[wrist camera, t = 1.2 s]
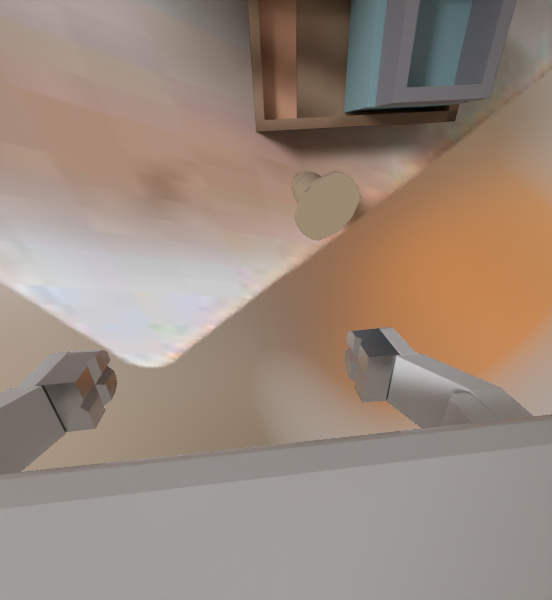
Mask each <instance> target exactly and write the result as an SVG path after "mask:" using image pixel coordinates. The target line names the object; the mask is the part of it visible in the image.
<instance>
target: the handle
mask: <svg viewBox="0 0 552 600" xmlns="http://www.w3.org/2000/svg"><path fill="white" fill-rule="evenodd" d="M292 190H293V194H294V197H295V199H296V201H297V202H298V205H297V208H296V212H295V215H294V217H295V221H296V224H297V226H298V228H299V229H300V231H301V232H302V233H303V234H304V235H306V236H307V237H308V238H310V239H313V240H322V239H324V238H327V237H329V236H331V235H333V234H335V233H337V232H338V231H339V230H340V229H341V228H342V227H343V226H344V225H345V224H346V223H347V222H348V221H349V220H350V219H351V218H352V216H353V214H354V212H355V210H356V208H357V206H358V203H359V201H360V198H361V196H360V190H359V188H358V186H357V184H356V183H355V181H354V180H353V179H352V178H351V177H349V176H348V175H346V174H344V173H341V172H337V171H333V172H331V173H329V174H326V175H324V176H322V177H321V176H319V175H318V174H316V173H313V172H303V173H301V174H299V175H298V174H297V175H296V176H295V177H294V182H293V187H292Z"/></svg>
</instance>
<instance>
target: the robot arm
mask: <svg viewBox="0 0 552 600" xmlns="http://www.w3.org/2000/svg"><path fill="white" fill-rule="evenodd" d="M347 343H348V345H349V348H348V350H347V351H346V352H345V365H346V370H347V373H348V375H349V377H350V379H352V380H354V381H355V390H356V392H357V394H358V396H359V397H360V400H361V401H362V402H371V401H385V400H386V401H387V402H388V403H389V404H391V405H392V406H393V407H395V408H396V409H397V410H399V411H400V412H401V413H403V414H404V415H405V416H406V417H408V418H409V419H410V420H412V421H413V422H414V423H415V424H417V425H418V426H419V427H421V428H422V429H414V430H405V431H396V432H387V433H378V434H370V435H360V436H351V437H341V438H332V439H323V440H314V441H304V442H294V443H285V444H275V445H267V446H257V447H248V448H238V449H230V450H221V451H211V452H203V453H193V454H184V455H174V456H166V457H156V458H147V459H138V460H129V461H119V462H111V463H101V464H92V465H82V466H73V467H64V468H56V469H45V470H36V471H27V472H21V471H22V470H24V469H25V468H26V467H27V466H28V465H29V464H31V463H32V462H33V461H34V460H35V459H36V458H38V457H39V456H40V455H41V454H42V453H44V452H45V451H46V450H47V449H48V448H49V447H50V446H52V445H53V444H54V443H55V442H56V441H58V440H59V439H60V438H61V437H62V436H64V435H65V432H70V431H79V430H87V429H95V428H96V427H97V425H98V423H99V422H100V420H101V418H102V416H103V414H104V412H105V408H104V405H105V404H107V403H108V402H109V401H111V400H112V398H113V396H114V394H115V392H116V387H117V380H116V375H115V372H114V371H113V370H112V369H111V368H109V367H108V364H109V362H110V358H109V356H108V353H107V352H106V351H104V350H92V351H74V352H61V353H54V354H50V355H49V356H48V357H47V358H46V359H45V360H44V361H43V362H42V363H41V364H40V365H39V366H38V367H37V368H36V369H35V370H34V371H33V372H32V373H31V374H30V375H29V376H28V377H27V378H26V379H25V380H24V381H23V382H22V383H21V384H20V385H19V386H18V387H16V388H10V389H8V390H6V391H4V392H2V393H0V600H552V415H543V416H532V415H531V414H530V413H529V412H528V411H527V410H526V409H525V408H523V407H522V406H521V405H520V404H519V403H518V402H517V401H516V400H514V399H513V398H512V397H511V396H510V395H509V394H507V393H506V392H505V391H504V390H503V389H502V388H500V387H498V386H496V385H493V384H491V383H489V382H486V381H484V380H482V379H479V378H477V377H475V376H472V375H470V374H468V373H466V372H463V371H461V370H458V369H456V368H454V367H452V366H449V365H447V364H445V363H442V362H440V361H438V360H436V359H433V358H431V357H428V356H426V355H424V354H422V353H419V354H417V353H416V352H415V351H414V350H413V349H412V348H411V347H410V346H409V345H408V344H407V343H406V341H405V340H404V339H403V338H402V337H401V336H400V335H399V334H398V333H397V332H396V330H395V329H394V328H392V327H385V328H377V329H368V330H359V331H349V332H348V335H347Z"/></svg>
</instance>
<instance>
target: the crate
mask: <svg viewBox="0 0 552 600" xmlns="http://www.w3.org/2000/svg"><path fill="white" fill-rule="evenodd" d="M515 4H516V0H351V12H350V28H349V43H348V58H347V74H346V89H345V104H344V113H347V112H367V111H387V110H407V109H426V108H432V107H439V106H446V105H452V104H459V103H466V102H468V101H473V100H480V99H486V98H489V97H490V94H491V90H492V87H493V83H494V79H495V76H496V72H497V69H498V65H499V61H500V58H501V54H502V51H503V47H504V43H505V40H506V36H507V33H508V29H509V26H510V22H511V18H512V15H513V11H514V8H515Z"/></svg>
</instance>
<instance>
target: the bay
mask: <svg viewBox="0 0 552 600" xmlns="http://www.w3.org/2000/svg"><path fill="white" fill-rule="evenodd" d="M247 3H248V18H249V32H250V46H251V61H252V75H253V90H254V104H255V119H256V132H262V131H281V130H301V129H320V128H339V127H358V126H378V125H397V124H416V123H434V122H449V121H455V119H456V114H457V110H458V106H459V104H452V105H446V106H439V107H432V108H426V109H407V110H387V111H367V112H347V113H344V104H345V89H346V74H347V58H348V43H349V28H350V12H351V0H247Z"/></svg>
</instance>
